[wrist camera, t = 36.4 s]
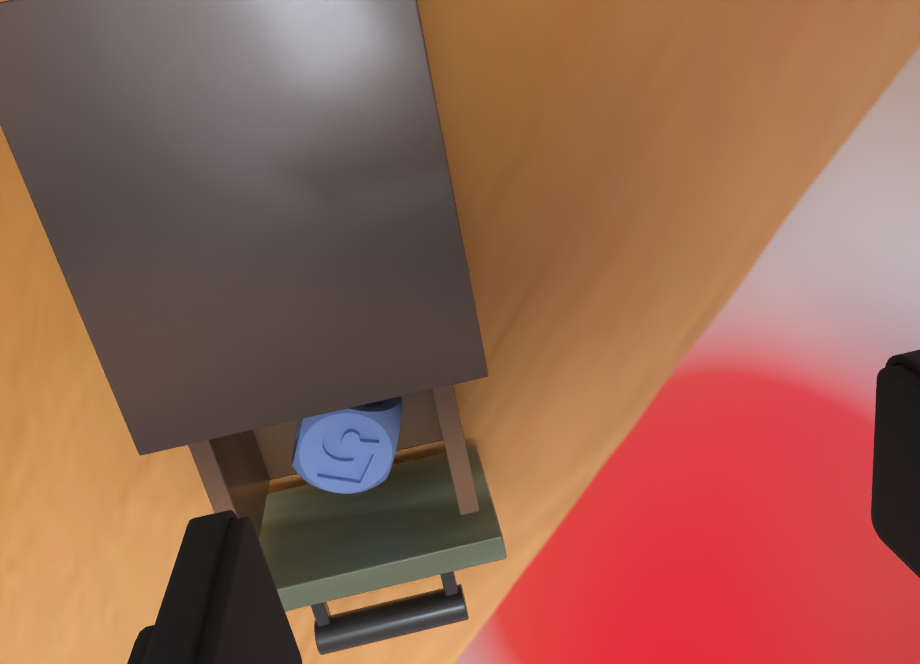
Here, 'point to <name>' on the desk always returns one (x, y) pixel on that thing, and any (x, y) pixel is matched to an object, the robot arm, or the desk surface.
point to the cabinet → (243, 203)
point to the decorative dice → (348, 446)
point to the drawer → (364, 523)
